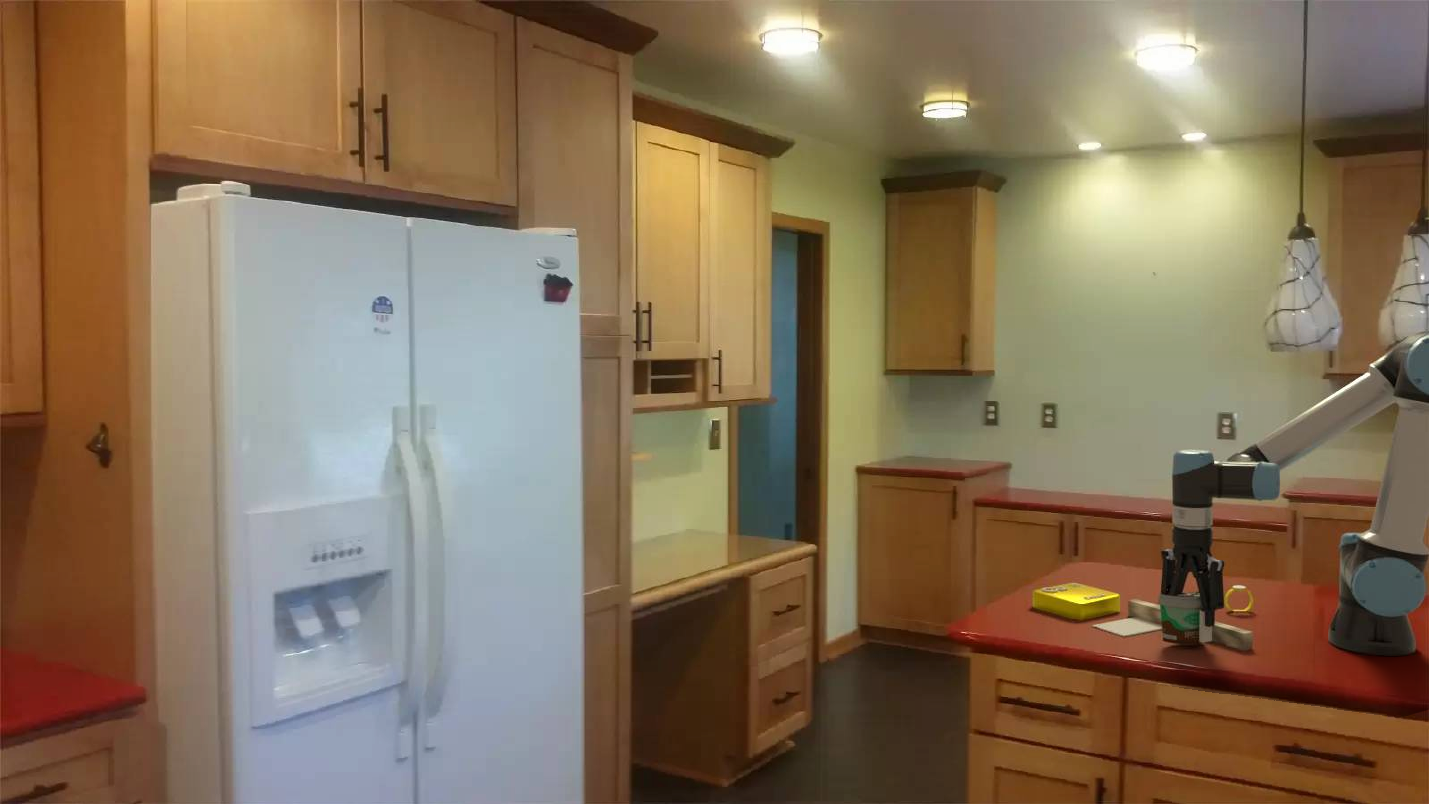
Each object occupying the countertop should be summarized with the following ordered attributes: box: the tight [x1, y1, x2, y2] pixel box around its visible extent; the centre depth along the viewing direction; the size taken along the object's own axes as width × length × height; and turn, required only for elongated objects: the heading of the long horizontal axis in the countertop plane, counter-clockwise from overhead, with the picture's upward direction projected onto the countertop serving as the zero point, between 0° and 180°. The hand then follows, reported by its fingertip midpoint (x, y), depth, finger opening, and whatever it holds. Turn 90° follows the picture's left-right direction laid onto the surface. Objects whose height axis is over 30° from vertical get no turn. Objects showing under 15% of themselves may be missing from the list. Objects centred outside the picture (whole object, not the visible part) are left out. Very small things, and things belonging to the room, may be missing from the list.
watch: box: [1224, 584, 1255, 612], centre depth 244 cm, size 6×3×6 cm, turn 84°
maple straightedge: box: [1127, 598, 1254, 652], centre depth 229 cm, size 30×3×4 cm, turn 26°
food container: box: [1157, 590, 1203, 646], centre depth 218 cm, size 12×6×10 cm, turn 114°
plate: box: [1091, 617, 1162, 638], centre depth 233 cm, size 9×13×1 cm
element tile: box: [1032, 582, 1121, 621], centre depth 249 cm, size 15×15×5 cm
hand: (1191, 636), depth 219 cm, fingers closed on food container, 6 cm apart
